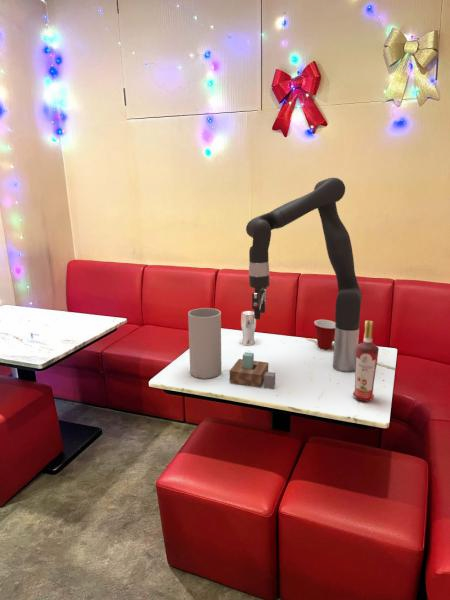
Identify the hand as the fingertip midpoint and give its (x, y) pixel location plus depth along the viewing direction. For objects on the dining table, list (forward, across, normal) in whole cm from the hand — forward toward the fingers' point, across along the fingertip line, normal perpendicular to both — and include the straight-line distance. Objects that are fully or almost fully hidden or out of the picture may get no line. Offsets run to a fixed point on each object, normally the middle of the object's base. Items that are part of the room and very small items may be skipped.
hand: (259, 315), depth 162 cm
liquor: (+26, +9, +38) cm, 47 cm away
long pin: (+24, +5, -4) cm, 25 cm away
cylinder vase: (+24, +4, -22) cm, 32 cm away
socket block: (+24, +5, -4) cm, 25 cm away
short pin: (+24, +9, +5) cm, 27 cm away
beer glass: (+24, -33, -13) cm, 42 cm away
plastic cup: (+25, -36, +22) cm, 49 cm away
